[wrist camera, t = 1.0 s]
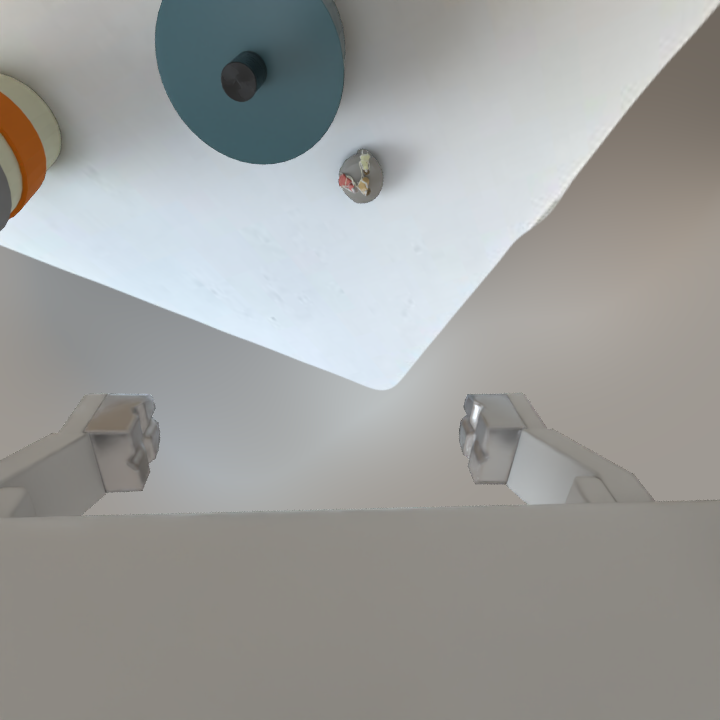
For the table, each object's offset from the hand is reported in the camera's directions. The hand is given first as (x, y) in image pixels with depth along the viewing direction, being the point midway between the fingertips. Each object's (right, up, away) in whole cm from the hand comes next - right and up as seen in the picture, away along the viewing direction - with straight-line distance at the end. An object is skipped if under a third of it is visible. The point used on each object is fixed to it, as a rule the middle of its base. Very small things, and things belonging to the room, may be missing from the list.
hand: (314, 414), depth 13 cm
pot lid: (-7, +23, +23) cm, 33 cm away
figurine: (+1, +21, +38) cm, 43 cm away
